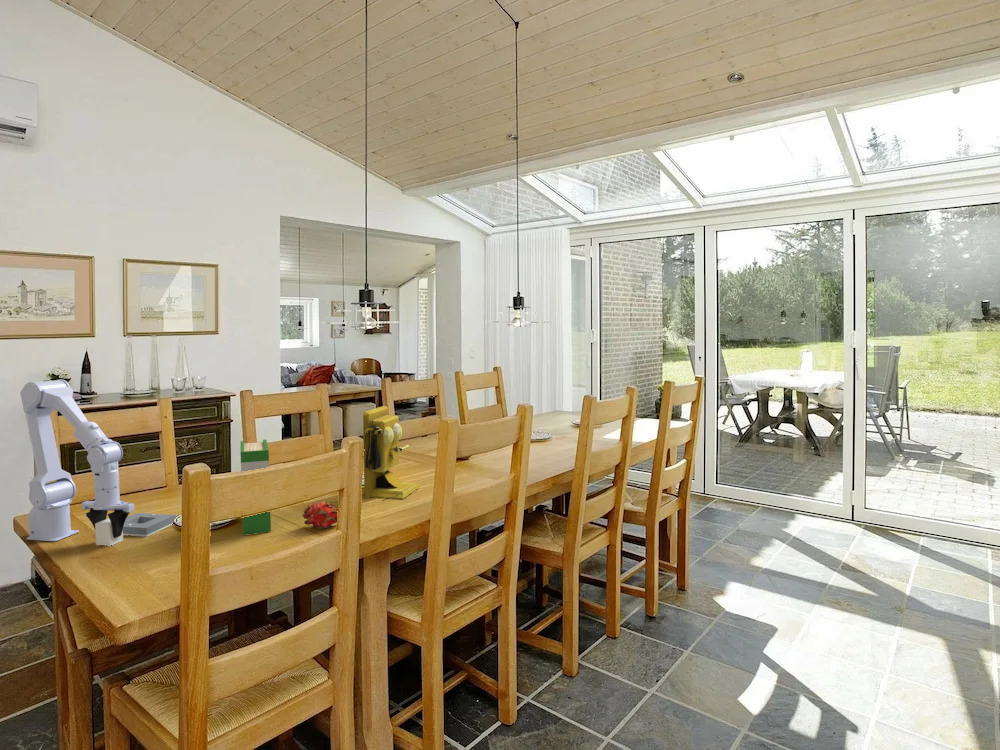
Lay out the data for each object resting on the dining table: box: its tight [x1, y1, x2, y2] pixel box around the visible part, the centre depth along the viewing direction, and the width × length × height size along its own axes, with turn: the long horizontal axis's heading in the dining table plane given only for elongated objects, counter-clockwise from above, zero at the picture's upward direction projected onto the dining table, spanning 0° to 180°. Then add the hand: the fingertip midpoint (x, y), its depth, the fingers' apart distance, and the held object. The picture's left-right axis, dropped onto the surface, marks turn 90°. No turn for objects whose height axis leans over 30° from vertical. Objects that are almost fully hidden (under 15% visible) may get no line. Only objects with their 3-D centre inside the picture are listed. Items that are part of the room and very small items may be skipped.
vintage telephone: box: [362, 405, 420, 502], centre depth 216 cm, size 31×14×30 cm, turn 167°
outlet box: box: [123, 512, 177, 538], centre depth 179 cm, size 13×12×3 cm
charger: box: [94, 518, 124, 547], centre depth 167 cm, size 4×4×6 cm
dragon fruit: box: [302, 500, 338, 530], centre depth 180 cm, size 8×8×12 cm
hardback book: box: [239, 439, 272, 536], centre depth 182 cm, size 18×7×24 cm, turn 23°
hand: (109, 536), depth 167 cm, fingers closed on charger, 4 cm apart
